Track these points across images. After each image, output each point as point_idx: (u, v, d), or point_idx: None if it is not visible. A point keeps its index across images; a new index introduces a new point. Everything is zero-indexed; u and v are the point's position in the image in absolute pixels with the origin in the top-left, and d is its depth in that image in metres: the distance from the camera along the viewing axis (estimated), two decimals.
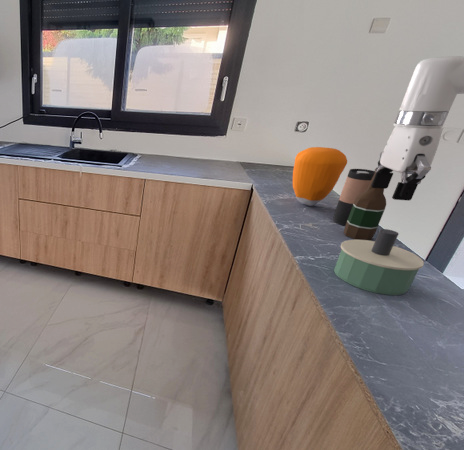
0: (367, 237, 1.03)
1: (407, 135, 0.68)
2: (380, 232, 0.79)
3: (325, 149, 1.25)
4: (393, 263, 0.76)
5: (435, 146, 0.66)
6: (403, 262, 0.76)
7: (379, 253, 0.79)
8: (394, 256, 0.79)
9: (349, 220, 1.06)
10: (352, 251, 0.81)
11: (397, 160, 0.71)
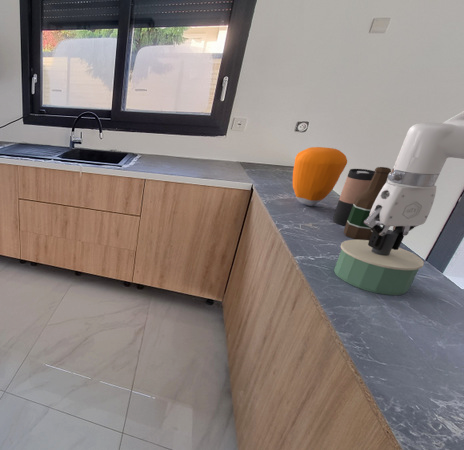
0: (367, 237, 1.03)
1: None
2: None
3: (325, 149, 1.25)
4: (393, 263, 0.76)
5: (390, 201, 0.73)
6: (403, 262, 0.76)
7: (379, 253, 0.79)
8: (394, 256, 0.79)
9: (349, 220, 1.06)
10: (352, 251, 0.81)
11: None
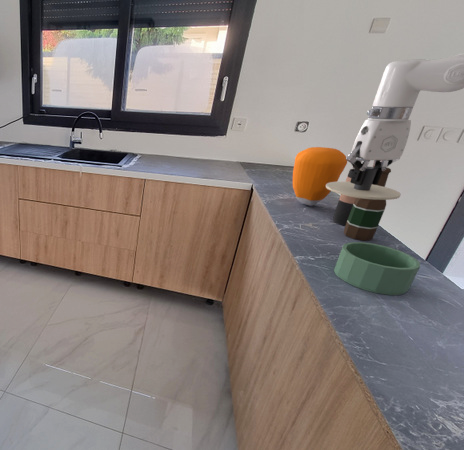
0: (367, 237, 1.03)
1: None
2: None
3: (325, 149, 1.25)
4: (372, 195, 0.82)
5: (369, 135, 0.79)
6: (382, 194, 0.82)
7: (360, 188, 0.86)
8: (374, 190, 0.85)
9: (349, 220, 1.06)
10: (336, 188, 0.88)
11: None
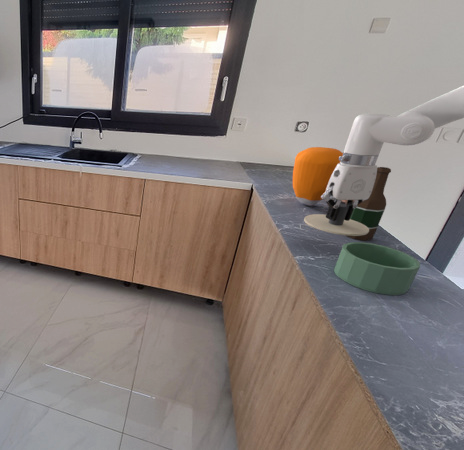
0: (367, 237, 1.03)
1: None
2: None
3: (325, 149, 1.25)
4: (343, 230, 0.91)
5: (340, 179, 0.89)
6: (352, 230, 0.92)
7: (334, 223, 0.95)
8: (346, 226, 0.94)
9: None
10: (312, 222, 0.97)
11: None
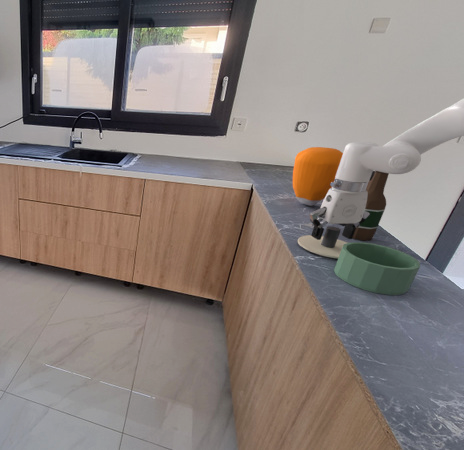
0: (367, 237, 1.03)
1: None
2: (327, 229, 0.97)
3: (325, 149, 1.25)
4: (335, 253, 0.94)
5: (332, 204, 0.92)
6: None
7: (326, 246, 0.98)
8: (338, 248, 0.97)
9: None
10: (305, 244, 1.00)
11: None
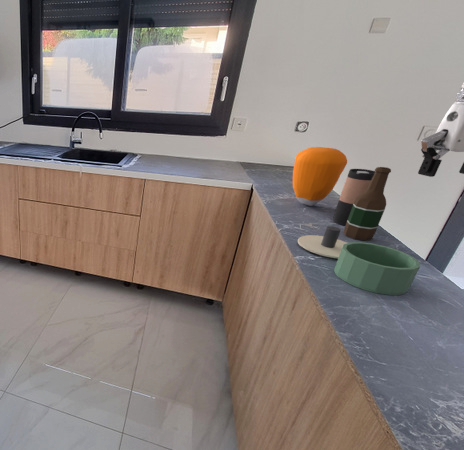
0: (367, 237, 1.03)
1: None
2: (327, 229, 0.97)
3: (325, 149, 1.25)
4: (335, 253, 0.94)
5: (460, 122, 0.67)
6: None
7: (326, 246, 0.98)
8: (338, 248, 0.97)
9: (349, 220, 1.06)
10: (305, 244, 1.00)
11: None
